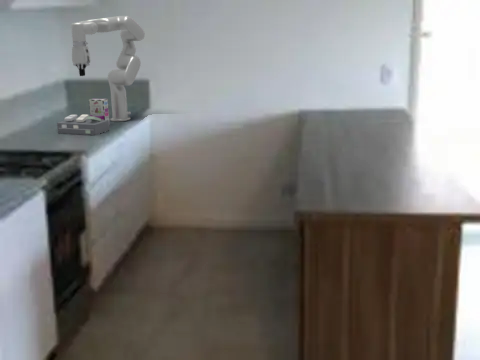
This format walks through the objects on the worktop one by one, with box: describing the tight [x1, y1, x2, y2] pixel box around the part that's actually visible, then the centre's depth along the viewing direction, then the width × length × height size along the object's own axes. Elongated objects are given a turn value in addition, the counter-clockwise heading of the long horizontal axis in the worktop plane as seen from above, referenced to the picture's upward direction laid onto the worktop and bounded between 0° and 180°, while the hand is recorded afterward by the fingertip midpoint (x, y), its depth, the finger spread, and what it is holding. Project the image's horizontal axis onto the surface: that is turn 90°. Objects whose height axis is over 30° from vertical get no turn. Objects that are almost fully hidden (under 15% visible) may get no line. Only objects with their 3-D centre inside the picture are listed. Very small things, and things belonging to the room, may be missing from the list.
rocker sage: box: [87, 115, 101, 121], centre depth 403 cm, size 7×4×2 cm, turn 157°
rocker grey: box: [63, 114, 79, 121], centre depth 409 cm, size 7×4×2 cm, turn 157°
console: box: [56, 118, 110, 136], centre depth 407 cm, size 14×26×7 cm, turn 67°
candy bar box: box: [88, 98, 111, 127], centre depth 423 cm, size 11×5×16 cm, turn 62°
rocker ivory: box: [76, 113, 90, 122], centre depth 406 cm, size 7×4×2 cm, turn 157°
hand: (82, 75), depth 413 cm, fingers closed
